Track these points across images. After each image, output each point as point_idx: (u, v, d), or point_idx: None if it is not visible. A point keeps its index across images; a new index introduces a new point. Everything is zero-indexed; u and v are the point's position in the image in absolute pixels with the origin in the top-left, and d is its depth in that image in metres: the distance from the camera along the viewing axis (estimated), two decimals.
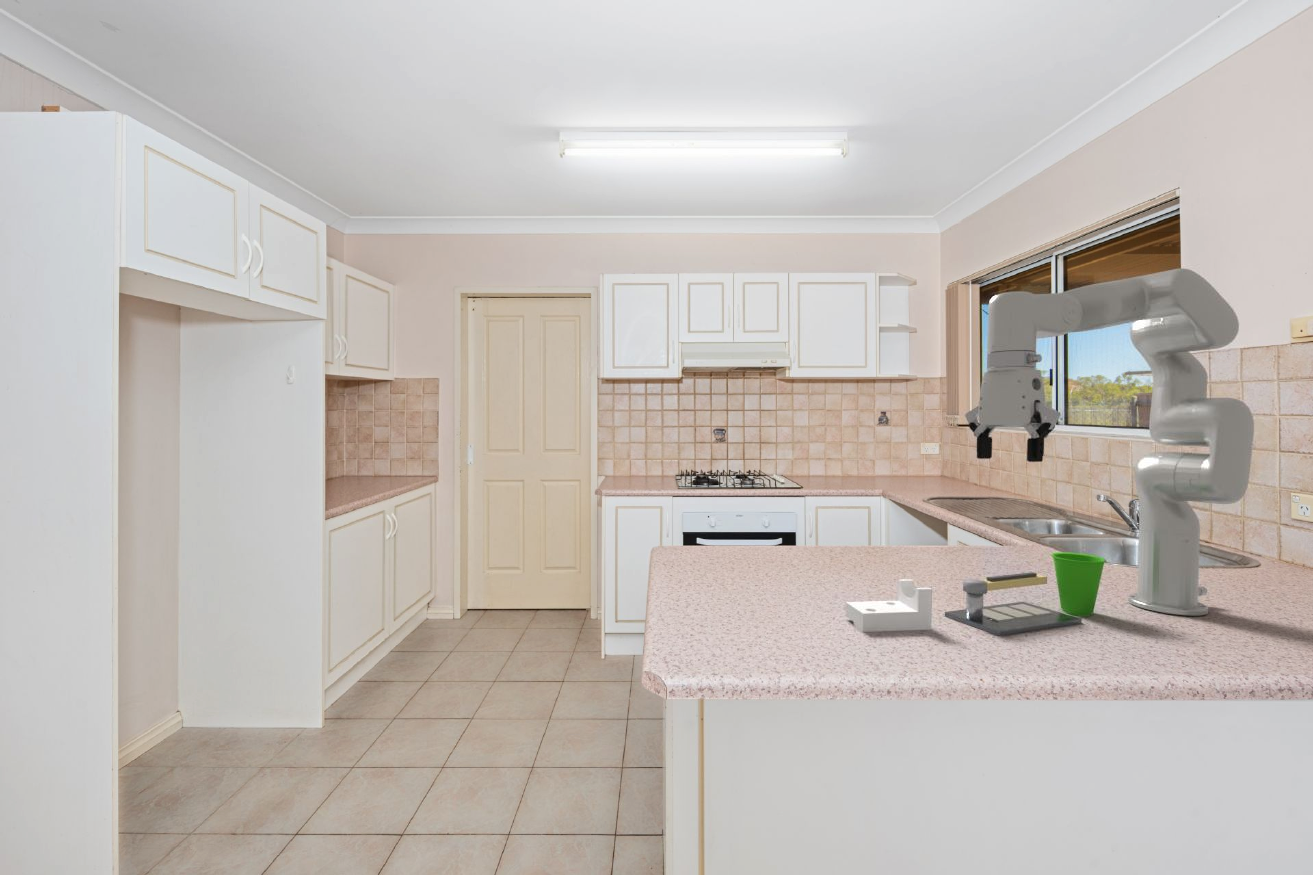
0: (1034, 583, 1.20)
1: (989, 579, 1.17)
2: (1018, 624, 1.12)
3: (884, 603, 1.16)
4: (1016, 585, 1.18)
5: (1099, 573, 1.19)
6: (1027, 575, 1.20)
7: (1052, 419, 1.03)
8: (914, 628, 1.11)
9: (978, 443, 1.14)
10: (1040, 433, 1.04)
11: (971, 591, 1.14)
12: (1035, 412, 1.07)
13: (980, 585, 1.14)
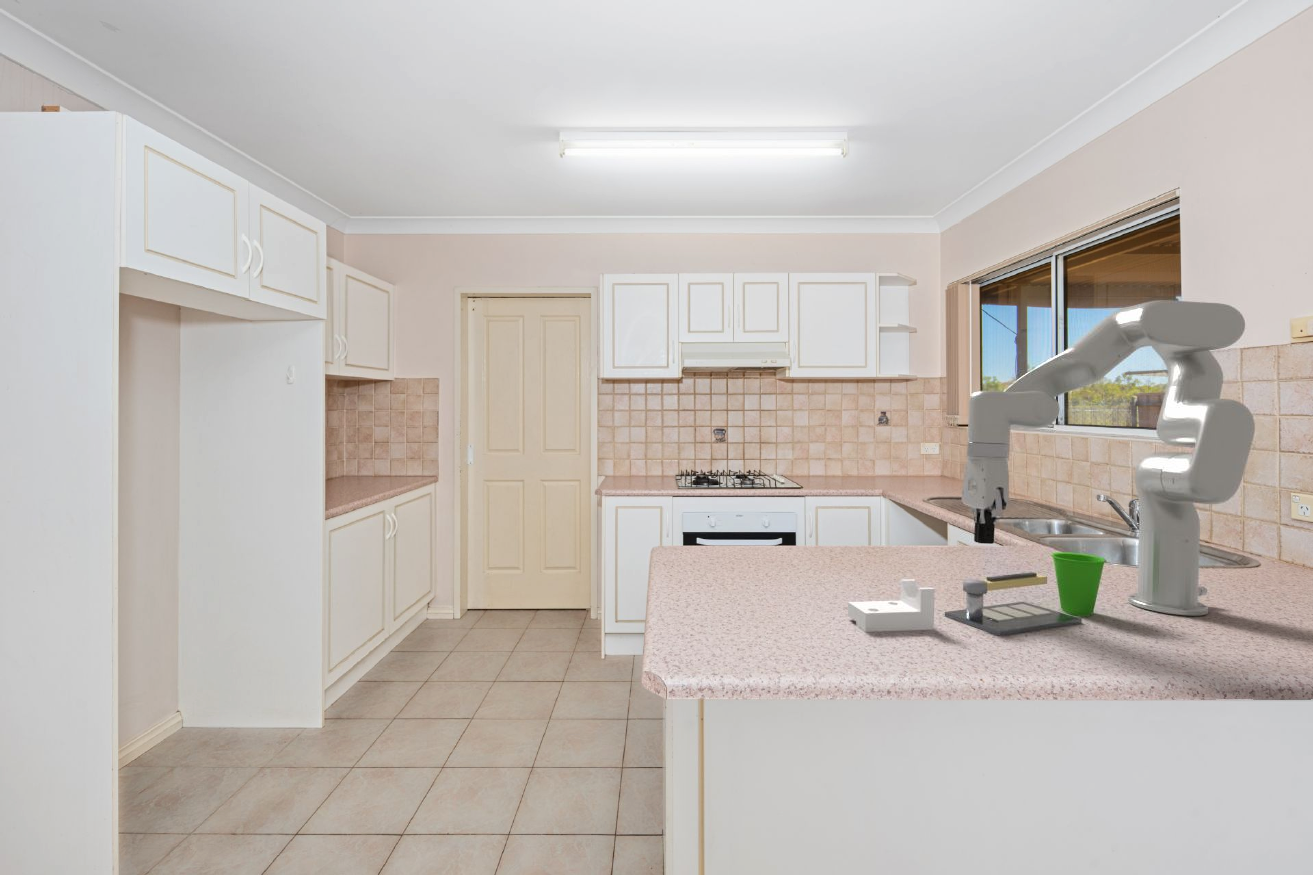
0: (1034, 583, 1.20)
1: (989, 579, 1.17)
2: (1018, 624, 1.12)
3: (886, 603, 1.16)
4: (1016, 585, 1.18)
5: (1099, 573, 1.19)
6: (1027, 575, 1.20)
7: None
8: (917, 628, 1.11)
9: None
10: None
11: (971, 591, 1.14)
12: None
13: (980, 585, 1.14)
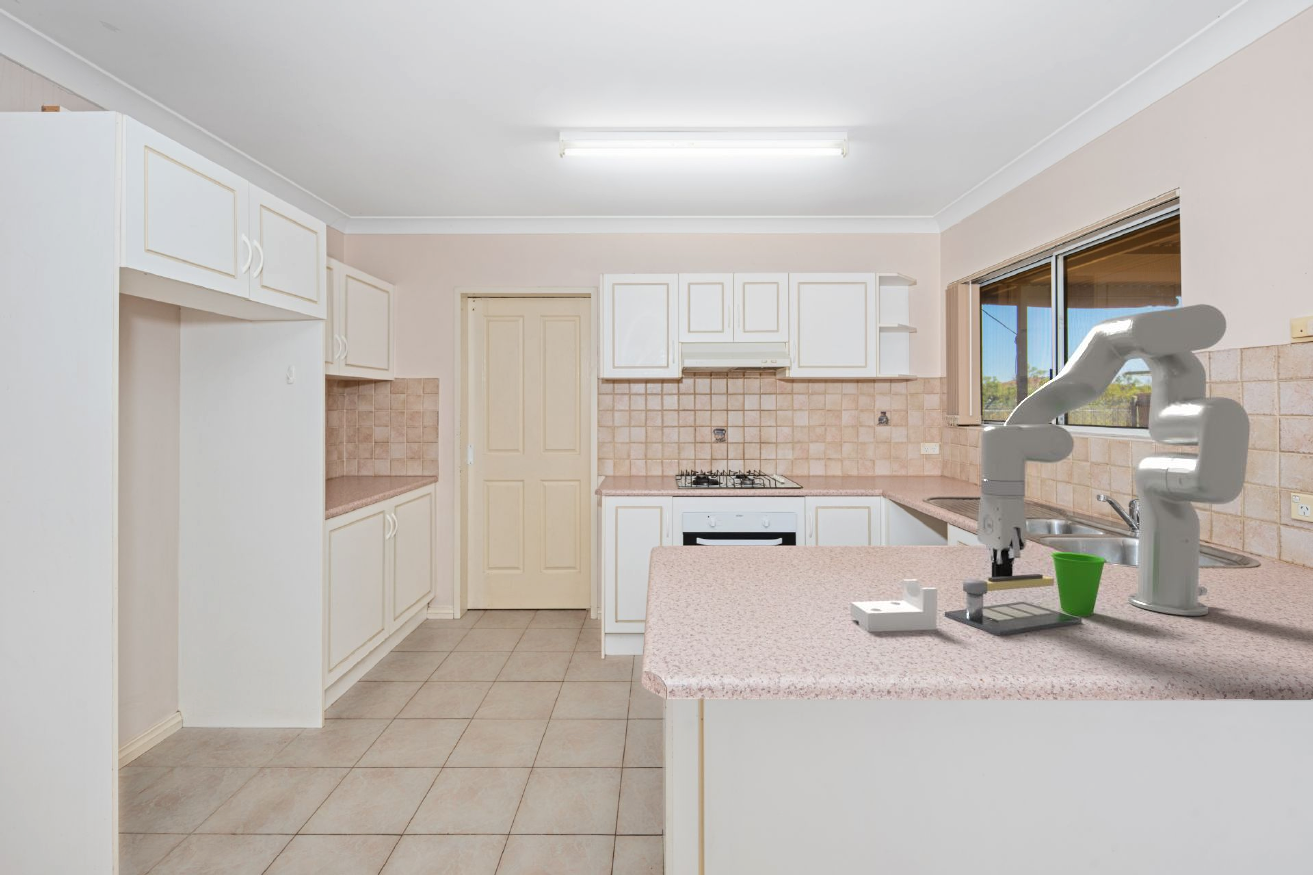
0: (1039, 585, 1.18)
1: (990, 579, 1.16)
2: (1018, 624, 1.12)
3: (889, 603, 1.16)
4: (1019, 586, 1.17)
5: (1099, 573, 1.19)
6: (1032, 576, 1.19)
7: None
8: (919, 627, 1.11)
9: None
10: None
11: (970, 591, 1.14)
12: None
13: (979, 585, 1.14)
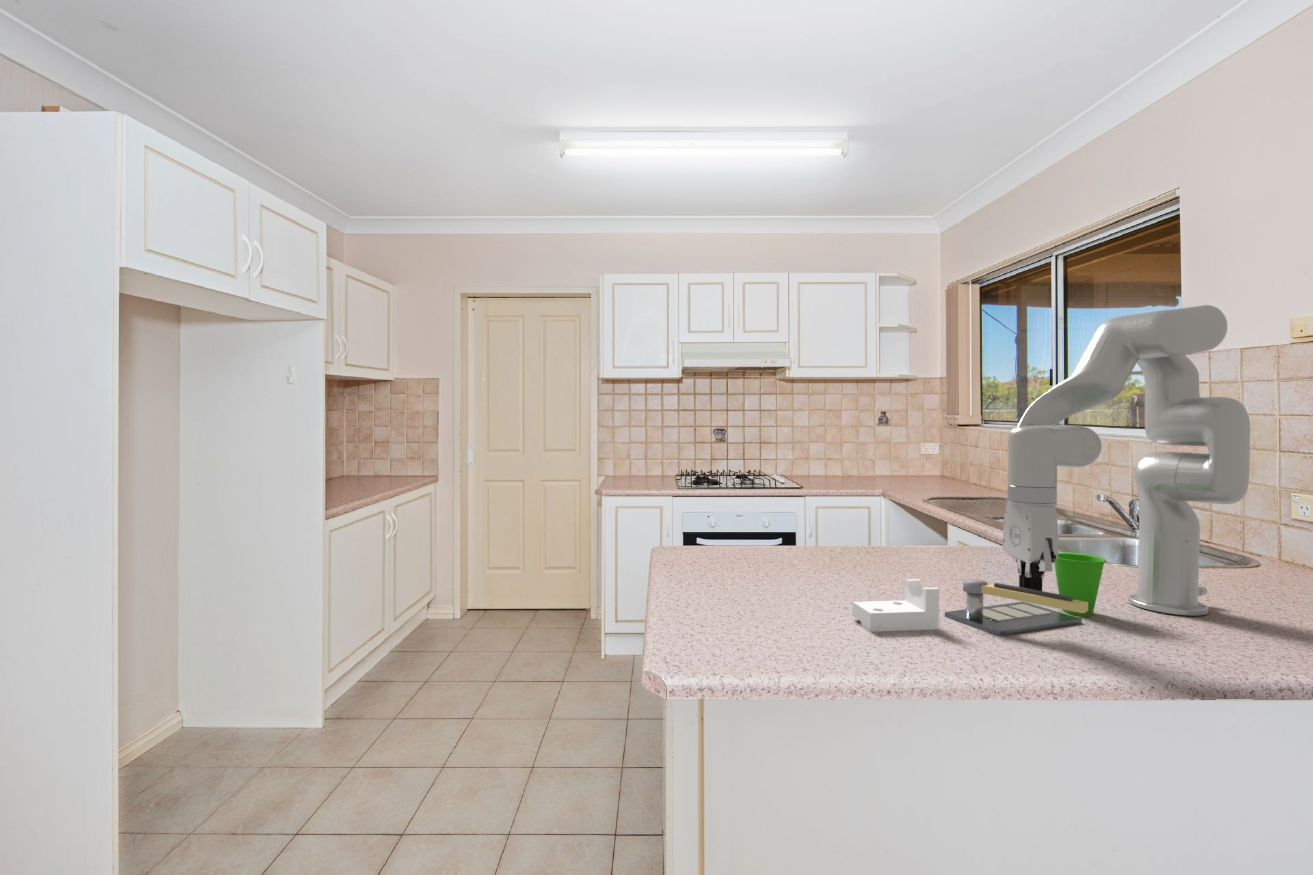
0: (1059, 606, 1.04)
1: None
2: (1018, 624, 1.12)
3: (891, 603, 1.16)
4: (1027, 600, 1.08)
5: (1099, 573, 1.19)
6: (1054, 595, 1.05)
7: None
8: (922, 627, 1.11)
9: None
10: None
11: (963, 588, 1.16)
12: None
13: (966, 583, 1.15)
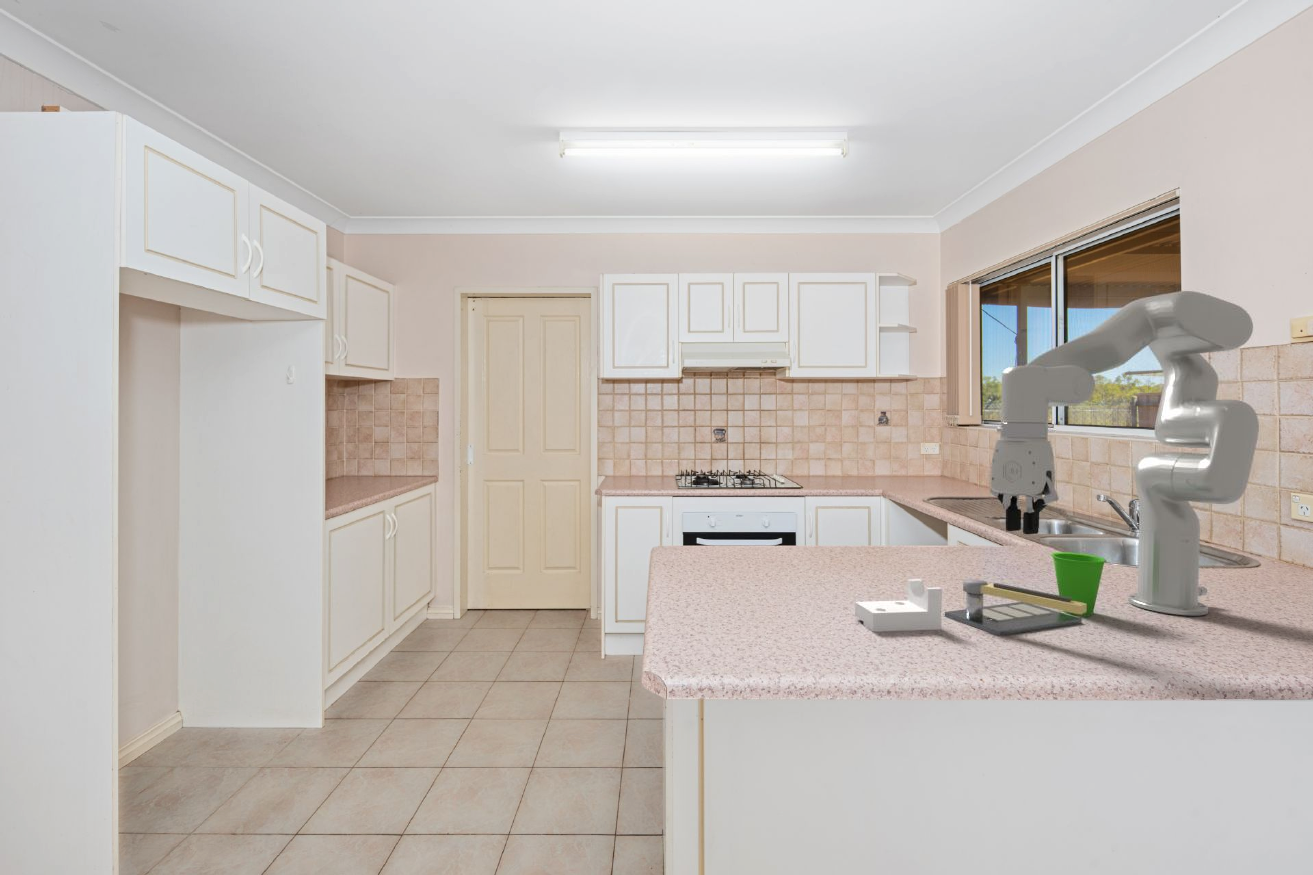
0: (1056, 607, 1.04)
1: None
2: (1018, 624, 1.12)
3: (893, 603, 1.17)
4: (1025, 600, 1.07)
5: (1099, 573, 1.19)
6: (1052, 596, 1.05)
7: None
8: (924, 627, 1.12)
9: None
10: None
11: (963, 588, 1.16)
12: None
13: (966, 583, 1.15)
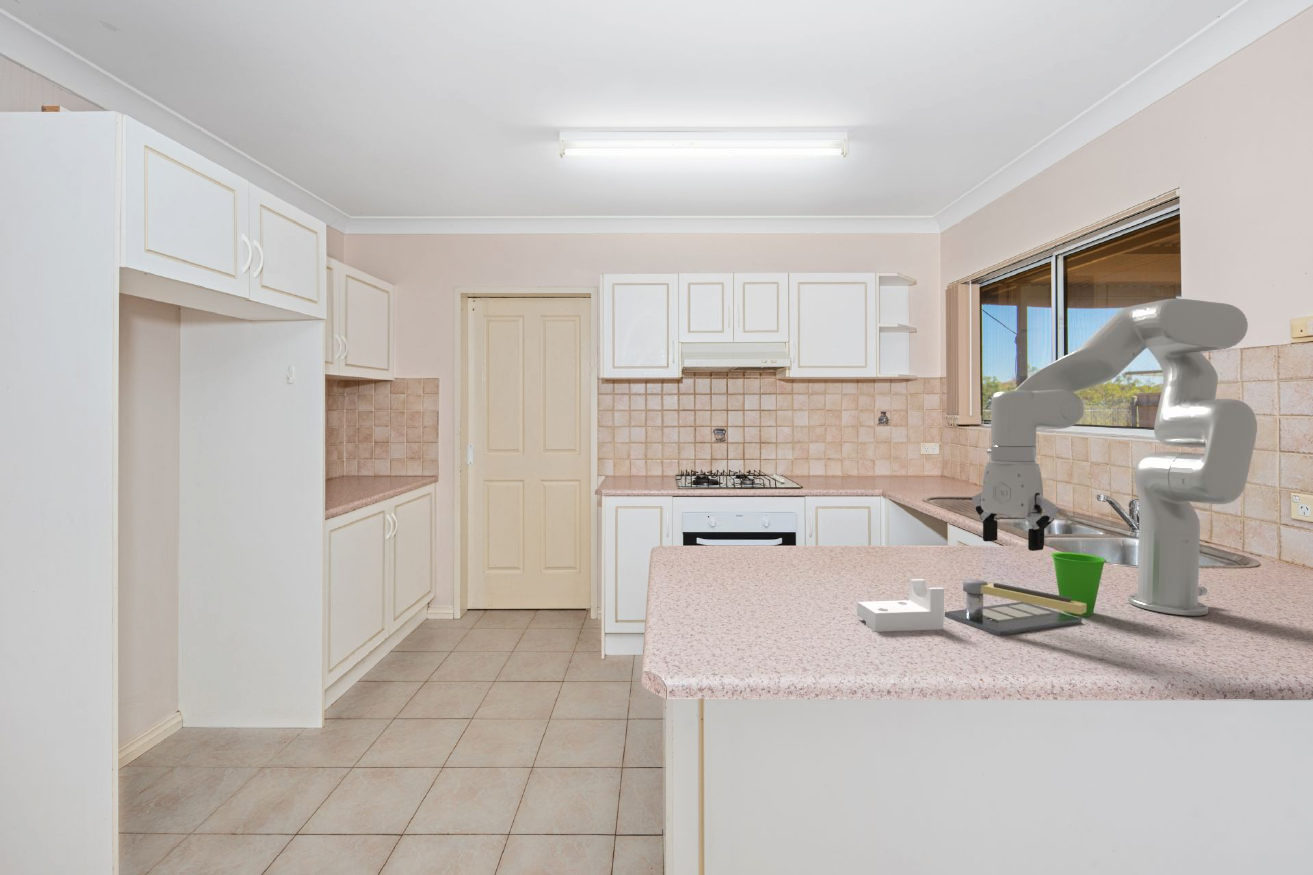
0: (1056, 607, 1.04)
1: None
2: (1018, 624, 1.12)
3: (896, 603, 1.17)
4: (1025, 600, 1.07)
5: (1099, 573, 1.19)
6: (1052, 596, 1.05)
7: None
8: (926, 627, 1.12)
9: None
10: None
11: (963, 588, 1.16)
12: None
13: (966, 583, 1.15)
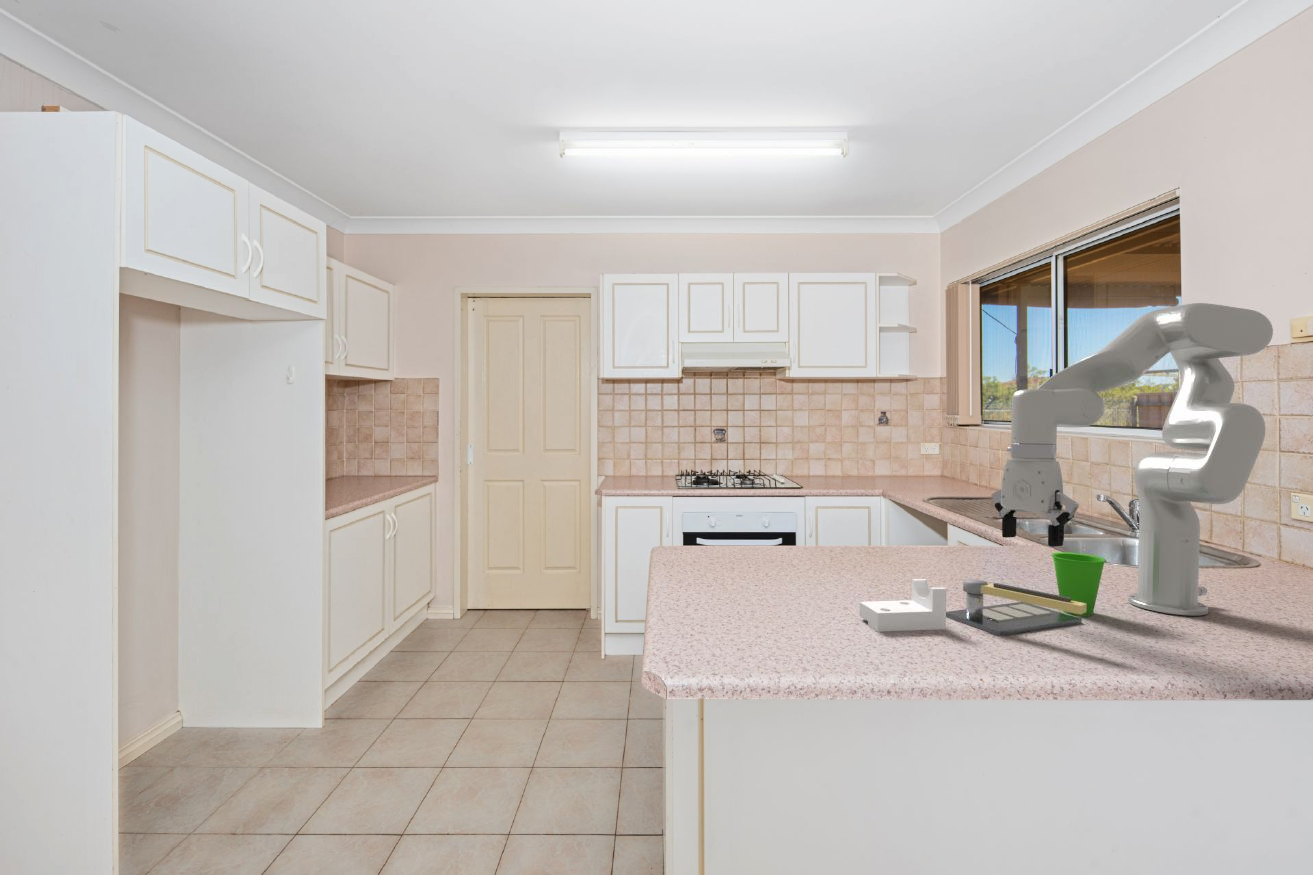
0: (1056, 607, 1.04)
1: None
2: (1018, 624, 1.12)
3: (898, 603, 1.17)
4: (1025, 600, 1.07)
5: (1099, 573, 1.19)
6: (1052, 596, 1.05)
7: None
8: (929, 627, 1.12)
9: None
10: None
11: (963, 588, 1.16)
12: None
13: (966, 583, 1.15)
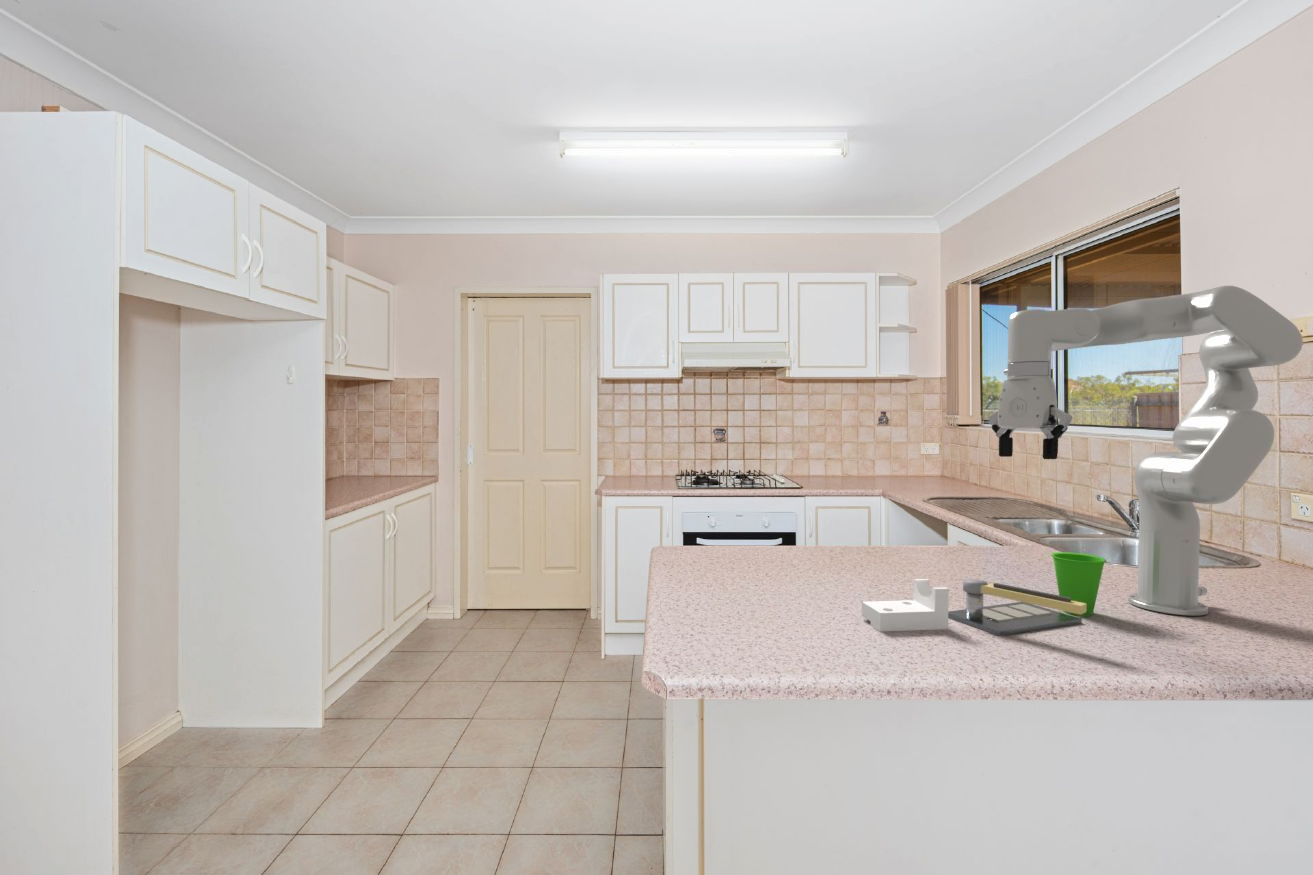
0: (1056, 607, 1.04)
1: None
2: (1018, 624, 1.12)
3: (900, 603, 1.17)
4: (1025, 600, 1.07)
5: (1099, 573, 1.19)
6: (1052, 596, 1.05)
7: None
8: (931, 627, 1.12)
9: None
10: None
11: (963, 588, 1.16)
12: None
13: (966, 583, 1.15)
